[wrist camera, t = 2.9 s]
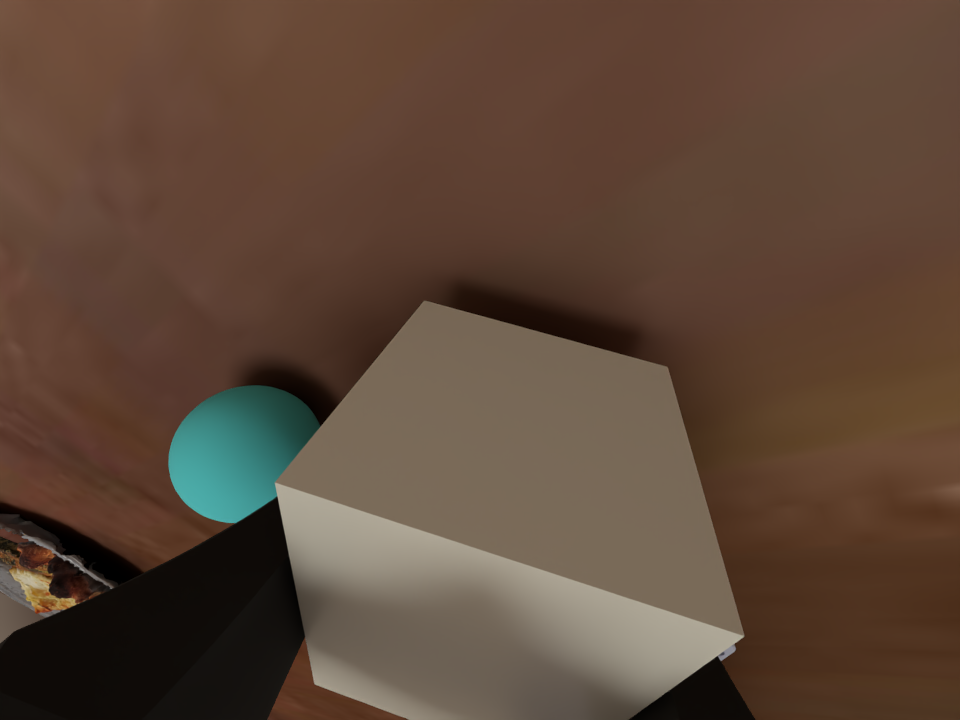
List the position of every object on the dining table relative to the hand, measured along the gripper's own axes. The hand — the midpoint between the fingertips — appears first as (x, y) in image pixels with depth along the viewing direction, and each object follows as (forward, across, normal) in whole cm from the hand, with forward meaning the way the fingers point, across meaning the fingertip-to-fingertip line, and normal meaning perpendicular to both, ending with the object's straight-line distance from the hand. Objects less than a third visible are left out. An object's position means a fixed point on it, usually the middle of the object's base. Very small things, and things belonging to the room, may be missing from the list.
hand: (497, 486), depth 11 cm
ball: (+1, +9, +4) cm, 10 cm away
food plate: (+4, +35, +36) cm, 50 cm away
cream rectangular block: (+2, 0, 0) cm, 2 cm away
